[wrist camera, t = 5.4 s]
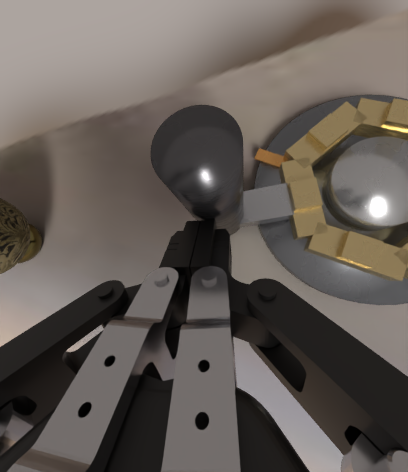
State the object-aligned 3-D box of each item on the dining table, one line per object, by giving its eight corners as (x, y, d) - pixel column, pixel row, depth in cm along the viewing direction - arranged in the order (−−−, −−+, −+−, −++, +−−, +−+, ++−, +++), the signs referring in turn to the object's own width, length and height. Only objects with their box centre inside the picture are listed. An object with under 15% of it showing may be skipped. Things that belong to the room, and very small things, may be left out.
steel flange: (327, 343, 15) (348, 360, 12) (219, 170, 18) (214, 150, 15) (544, 232, 14) (625, 220, 11) (384, 71, 17) (413, 29, 14)
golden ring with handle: (211, 302, 15) (168, 338, 6) (190, 148, 18) (137, 24, 9) (500, 266, 13) (1068, 249, 4) (430, 92, 15) (687, -160, 6)
